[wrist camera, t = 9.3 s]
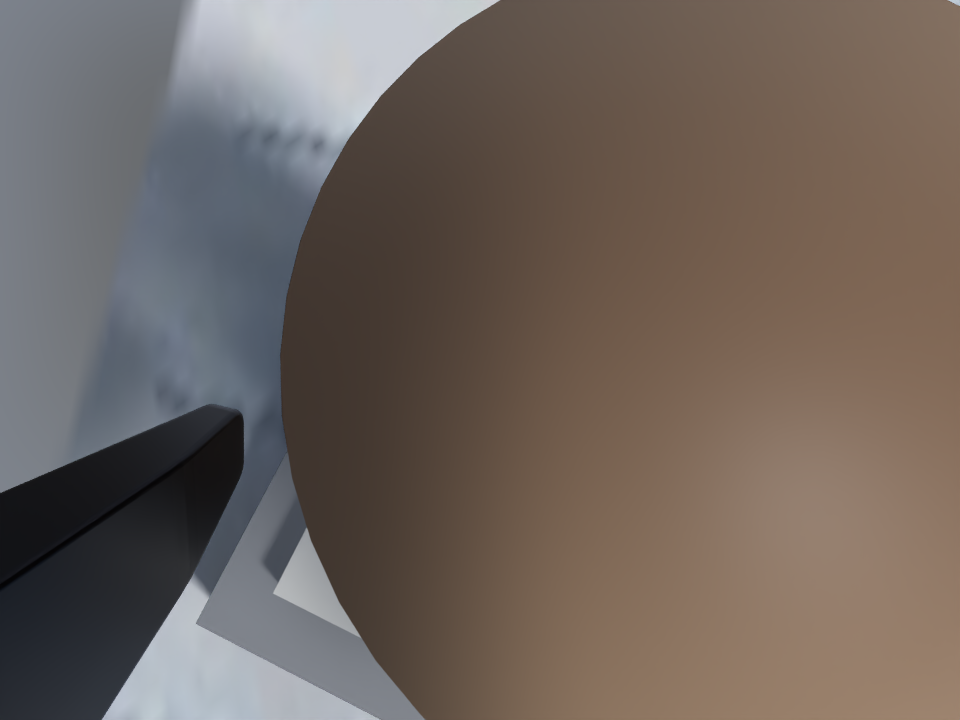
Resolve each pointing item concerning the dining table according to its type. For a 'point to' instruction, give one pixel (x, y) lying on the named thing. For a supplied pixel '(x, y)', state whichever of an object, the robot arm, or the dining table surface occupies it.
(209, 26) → the dining table surface
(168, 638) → the dining table surface
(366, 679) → the base
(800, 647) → the post
